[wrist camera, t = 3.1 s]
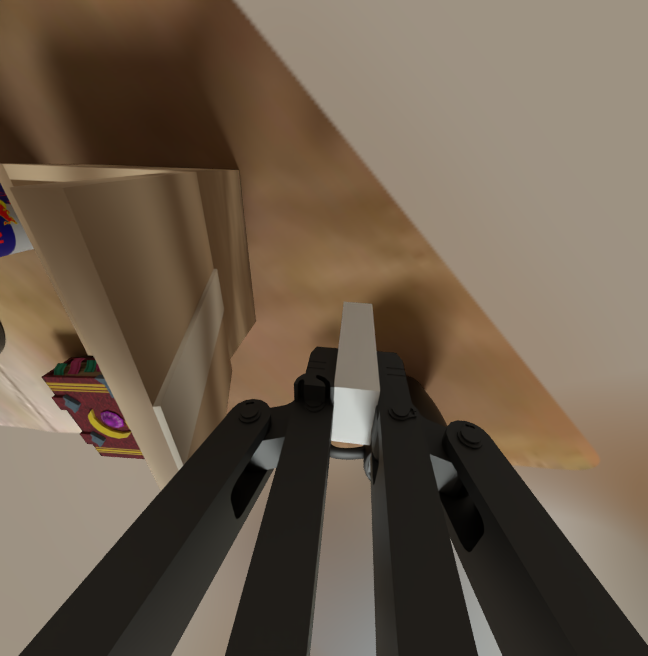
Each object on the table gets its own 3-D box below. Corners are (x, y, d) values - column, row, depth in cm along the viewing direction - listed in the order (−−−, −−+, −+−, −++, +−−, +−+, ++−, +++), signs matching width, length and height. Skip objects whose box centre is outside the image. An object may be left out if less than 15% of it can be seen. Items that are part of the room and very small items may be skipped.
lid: (189, 547, 12) (213, 542, 12) (8, 186, 5) (75, 188, 5) (221, 371, 22) (234, 370, 22) (180, 171, 15) (200, 171, 15)
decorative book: (122, 431, 43) (96, 460, 38) (67, 346, 35) (26, 371, 30) (189, 435, 41) (169, 466, 37) (147, 347, 33) (116, 374, 29)
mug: (334, 356, 30) (324, 426, 22) (444, 370, 29) (476, 447, 21) (328, 408, 34) (318, 483, 26) (425, 421, 34) (445, 502, 25)
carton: (150, 312, 30) (88, 355, 23) (101, 164, 23) (-10, 163, 16) (255, 321, 29) (223, 369, 22) (239, 170, 22) (183, 171, 15)
